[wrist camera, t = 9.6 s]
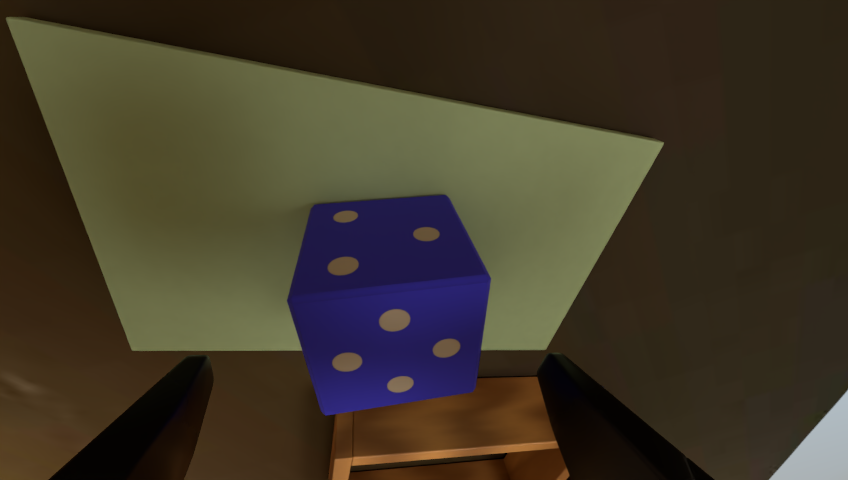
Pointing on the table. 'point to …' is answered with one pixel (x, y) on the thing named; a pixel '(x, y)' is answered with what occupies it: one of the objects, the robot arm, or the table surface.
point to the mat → (304, 183)
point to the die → (388, 302)
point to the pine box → (453, 436)
